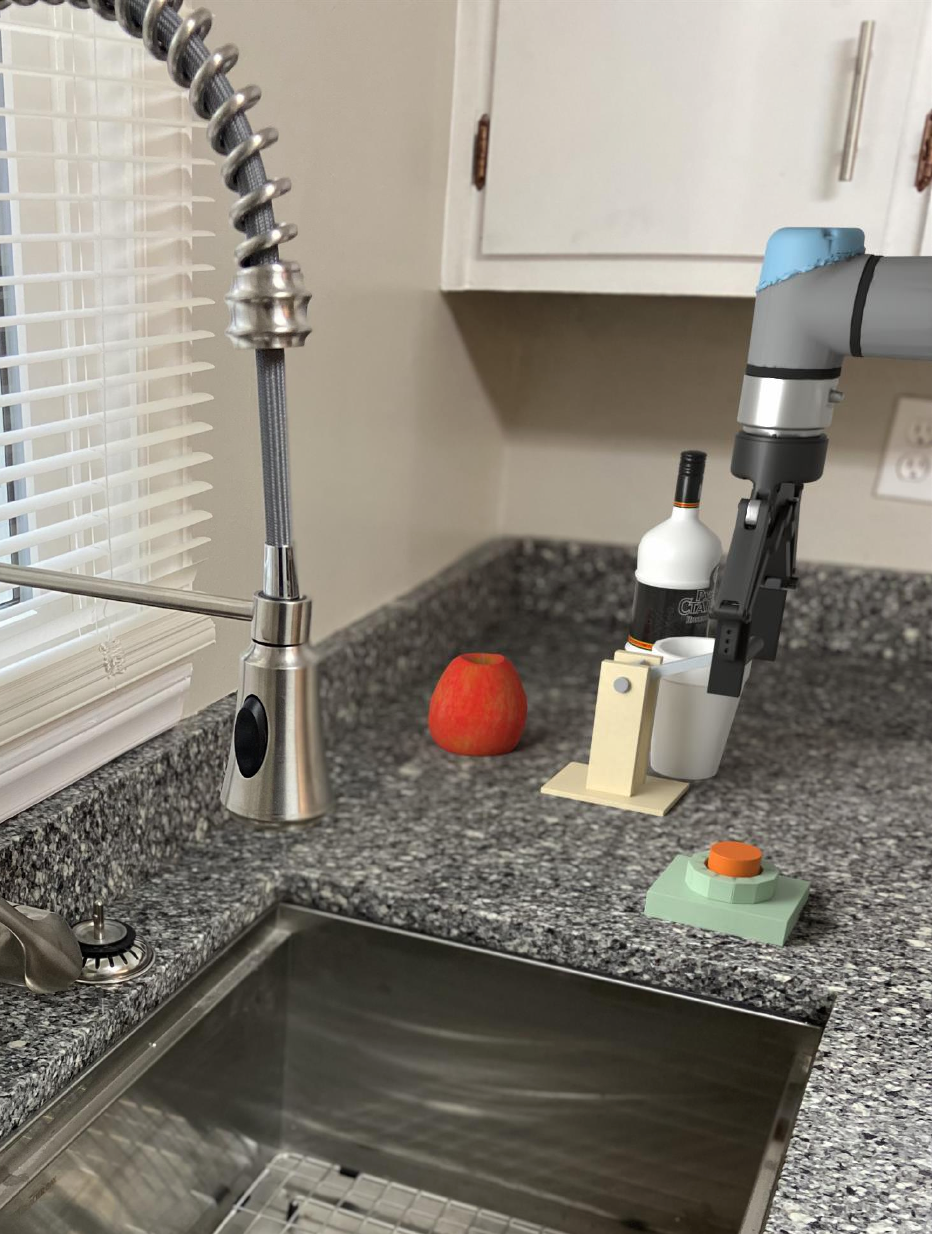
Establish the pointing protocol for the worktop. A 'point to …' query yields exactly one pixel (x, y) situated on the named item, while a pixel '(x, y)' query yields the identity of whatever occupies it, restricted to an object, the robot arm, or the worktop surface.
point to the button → (734, 859)
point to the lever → (698, 661)
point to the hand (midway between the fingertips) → (742, 676)
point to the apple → (478, 706)
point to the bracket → (621, 743)
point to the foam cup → (690, 714)
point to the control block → (728, 899)
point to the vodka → (676, 567)
